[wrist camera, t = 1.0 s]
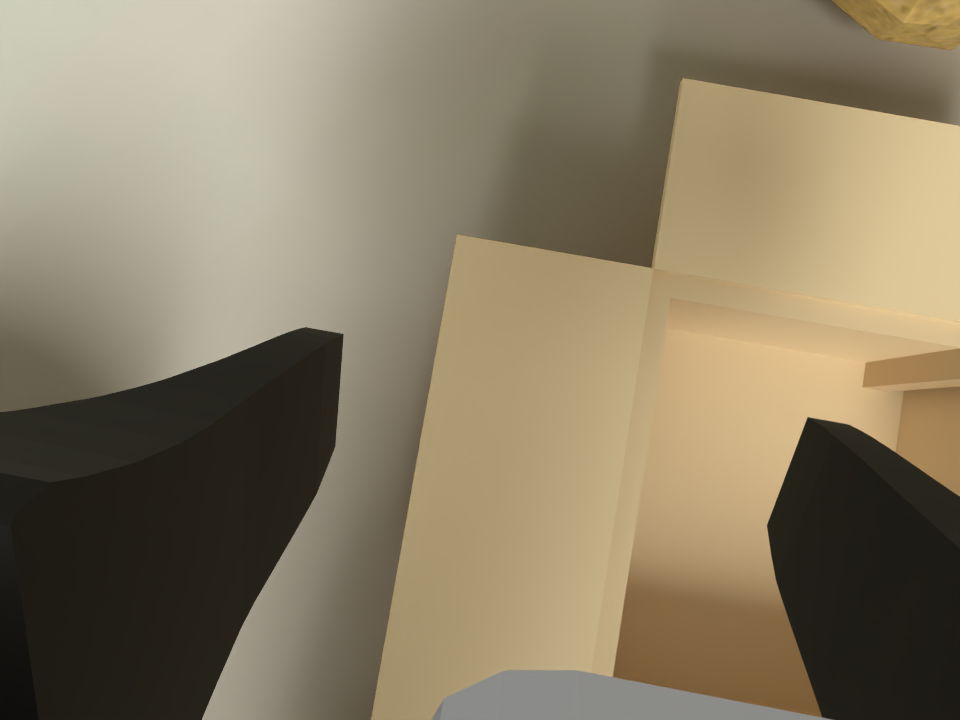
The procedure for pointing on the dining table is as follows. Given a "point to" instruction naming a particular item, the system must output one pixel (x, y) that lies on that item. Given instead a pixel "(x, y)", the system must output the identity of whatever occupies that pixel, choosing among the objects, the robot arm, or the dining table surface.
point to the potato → (908, 20)
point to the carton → (676, 406)
